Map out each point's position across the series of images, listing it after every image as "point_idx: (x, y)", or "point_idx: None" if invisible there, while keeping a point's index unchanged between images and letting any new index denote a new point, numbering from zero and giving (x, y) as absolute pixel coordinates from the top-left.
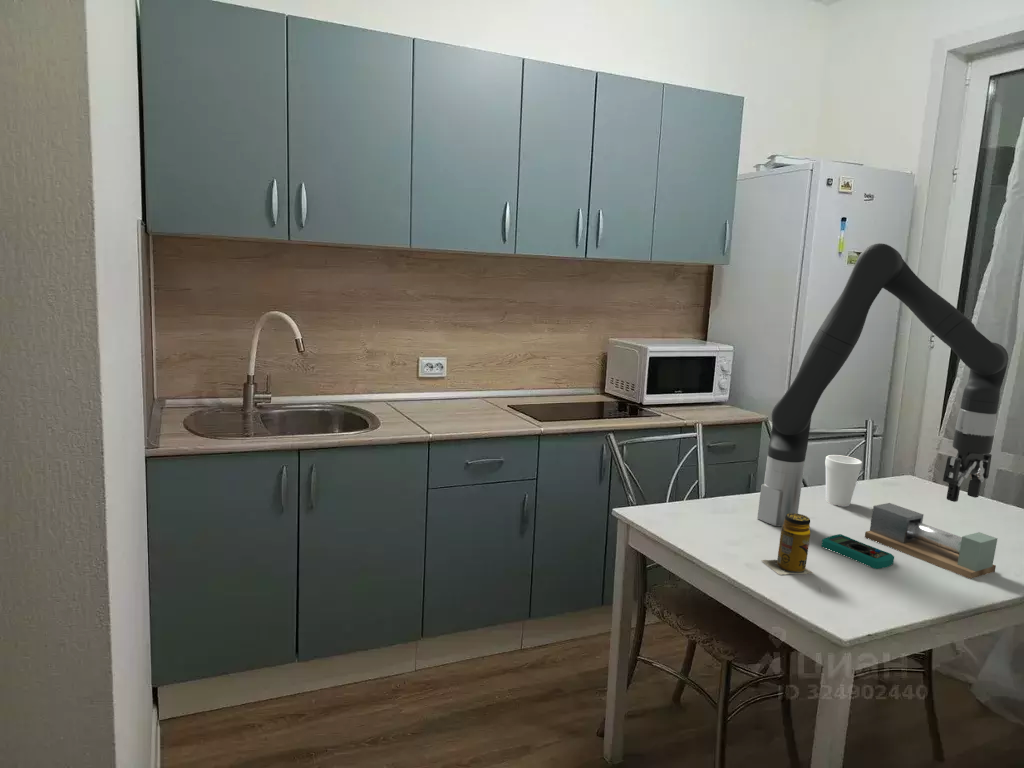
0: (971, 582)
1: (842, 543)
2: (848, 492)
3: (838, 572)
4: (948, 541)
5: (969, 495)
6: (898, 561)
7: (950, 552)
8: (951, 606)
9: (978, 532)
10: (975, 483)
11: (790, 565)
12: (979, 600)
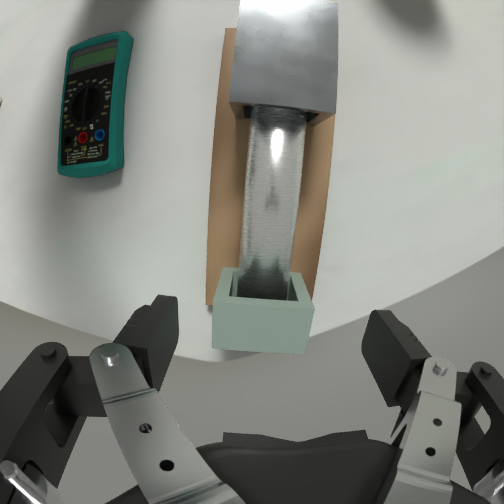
0: (192, 305)
1: (75, 77)
2: None
3: (12, 159)
4: (241, 241)
5: (370, 318)
6: (146, 163)
7: (297, 218)
8: (69, 321)
9: (308, 309)
10: (393, 382)
11: None
12: None
